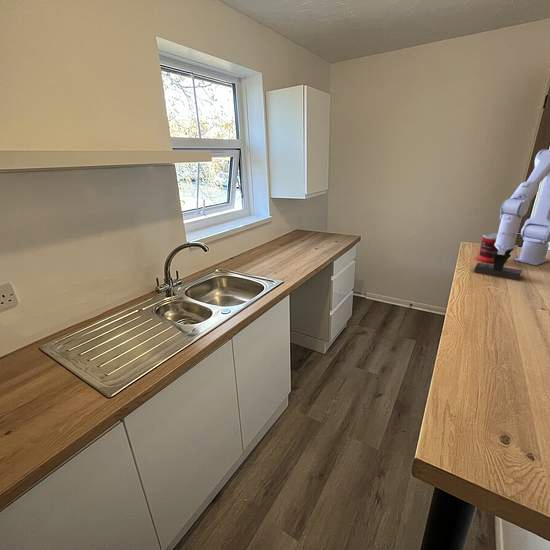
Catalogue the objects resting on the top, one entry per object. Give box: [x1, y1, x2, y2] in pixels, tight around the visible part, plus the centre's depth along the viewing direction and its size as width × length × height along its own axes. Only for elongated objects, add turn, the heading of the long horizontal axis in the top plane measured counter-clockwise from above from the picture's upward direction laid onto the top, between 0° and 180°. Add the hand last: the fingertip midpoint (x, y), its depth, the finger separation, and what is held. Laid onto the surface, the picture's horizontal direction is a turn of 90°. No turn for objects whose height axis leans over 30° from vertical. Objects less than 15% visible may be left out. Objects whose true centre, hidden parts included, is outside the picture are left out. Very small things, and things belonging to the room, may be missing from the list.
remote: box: [473, 262, 523, 281], centre depth 115 cm, size 14×5×3 cm, turn 49°
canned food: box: [477, 232, 498, 264], centre depth 127 cm, size 8×8×11 cm
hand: (498, 267), depth 114 cm, fingers open, 7 cm apart
